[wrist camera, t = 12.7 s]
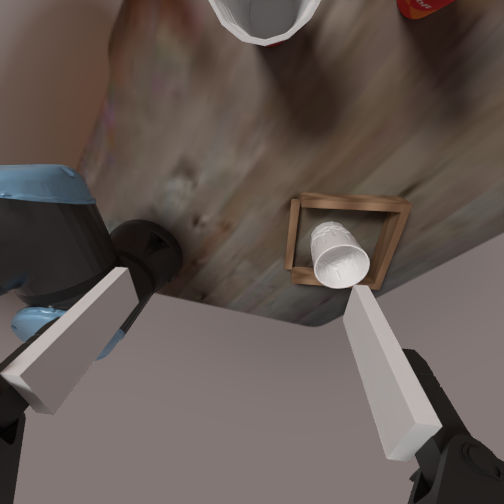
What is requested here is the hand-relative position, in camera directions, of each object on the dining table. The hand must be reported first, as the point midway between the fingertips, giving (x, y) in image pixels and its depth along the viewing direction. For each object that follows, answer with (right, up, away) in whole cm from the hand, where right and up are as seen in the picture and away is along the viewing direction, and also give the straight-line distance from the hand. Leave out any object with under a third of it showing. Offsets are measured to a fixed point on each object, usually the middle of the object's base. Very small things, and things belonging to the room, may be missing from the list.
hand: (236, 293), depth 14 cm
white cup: (+15, +5, +29) cm, 33 cm away
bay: (+16, +5, +29) cm, 33 cm away
